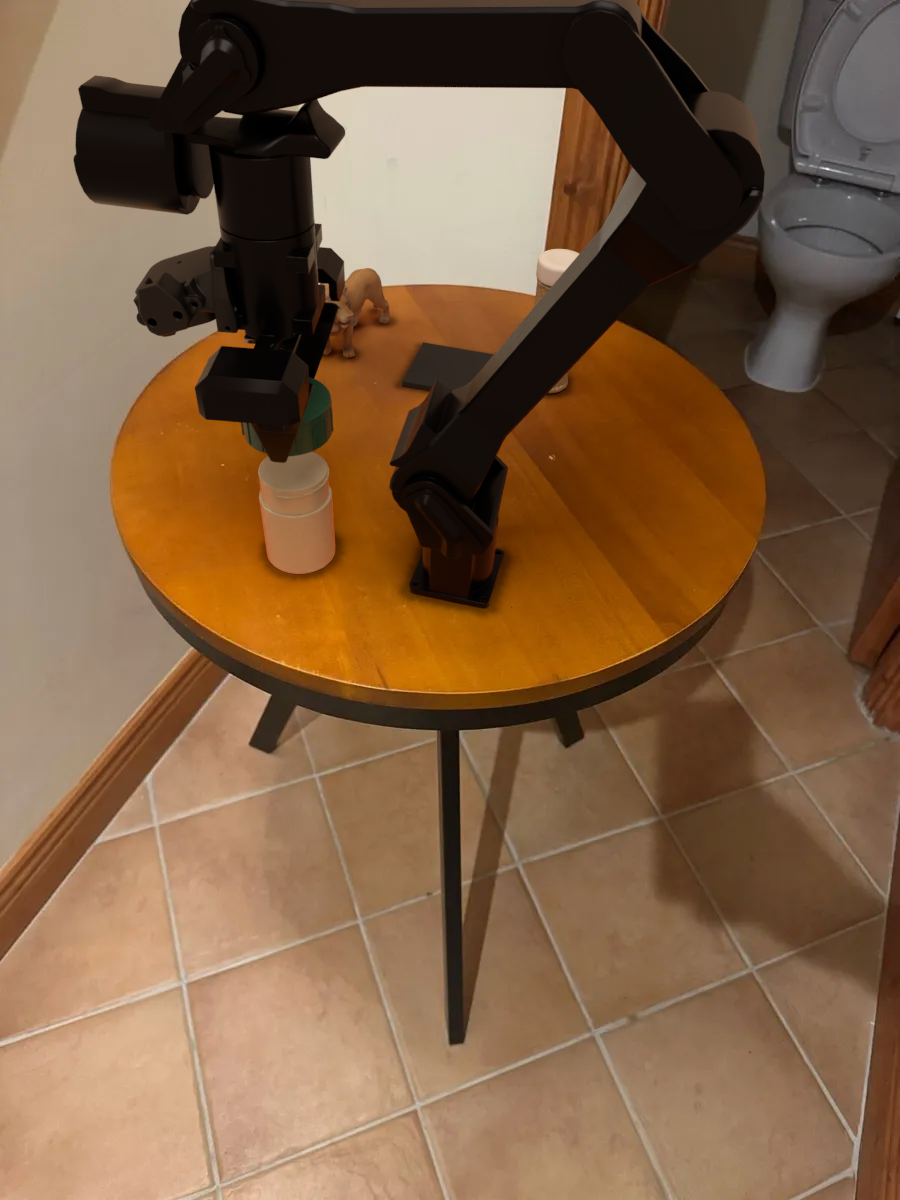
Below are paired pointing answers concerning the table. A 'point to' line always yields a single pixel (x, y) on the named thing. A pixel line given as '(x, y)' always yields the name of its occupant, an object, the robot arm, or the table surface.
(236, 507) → the table surface
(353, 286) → the lion figurine
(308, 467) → the jar
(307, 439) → the lid
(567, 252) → the spice bottle
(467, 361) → the coaster
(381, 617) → the table surface
